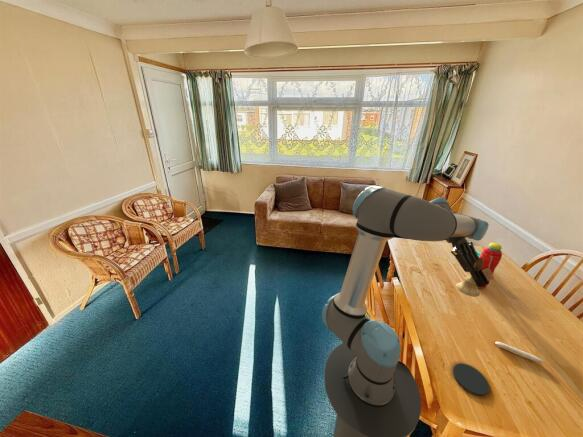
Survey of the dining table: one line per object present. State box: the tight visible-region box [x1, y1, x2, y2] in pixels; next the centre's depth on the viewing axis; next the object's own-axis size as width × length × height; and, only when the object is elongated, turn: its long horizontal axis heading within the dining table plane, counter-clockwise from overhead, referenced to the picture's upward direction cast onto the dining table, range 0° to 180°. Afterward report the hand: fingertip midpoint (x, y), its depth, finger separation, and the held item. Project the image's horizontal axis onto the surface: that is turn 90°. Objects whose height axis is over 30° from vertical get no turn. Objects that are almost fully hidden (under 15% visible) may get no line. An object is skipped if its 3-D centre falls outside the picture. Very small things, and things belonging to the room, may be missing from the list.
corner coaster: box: [452, 363, 490, 397], centre depth 78 cm, size 10×10×1 cm
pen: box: [494, 341, 546, 363], centre depth 86 cm, size 2×14×2 cm, turn 55°
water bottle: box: [478, 242, 503, 289], centre depth 113 cm, size 12×8×25 cm, turn 142°
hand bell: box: [455, 258, 483, 298], centre depth 93 cm, size 8×8×16 cm
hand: (483, 285), depth 91 cm, fingers closed on hand bell, 2 cm apart
